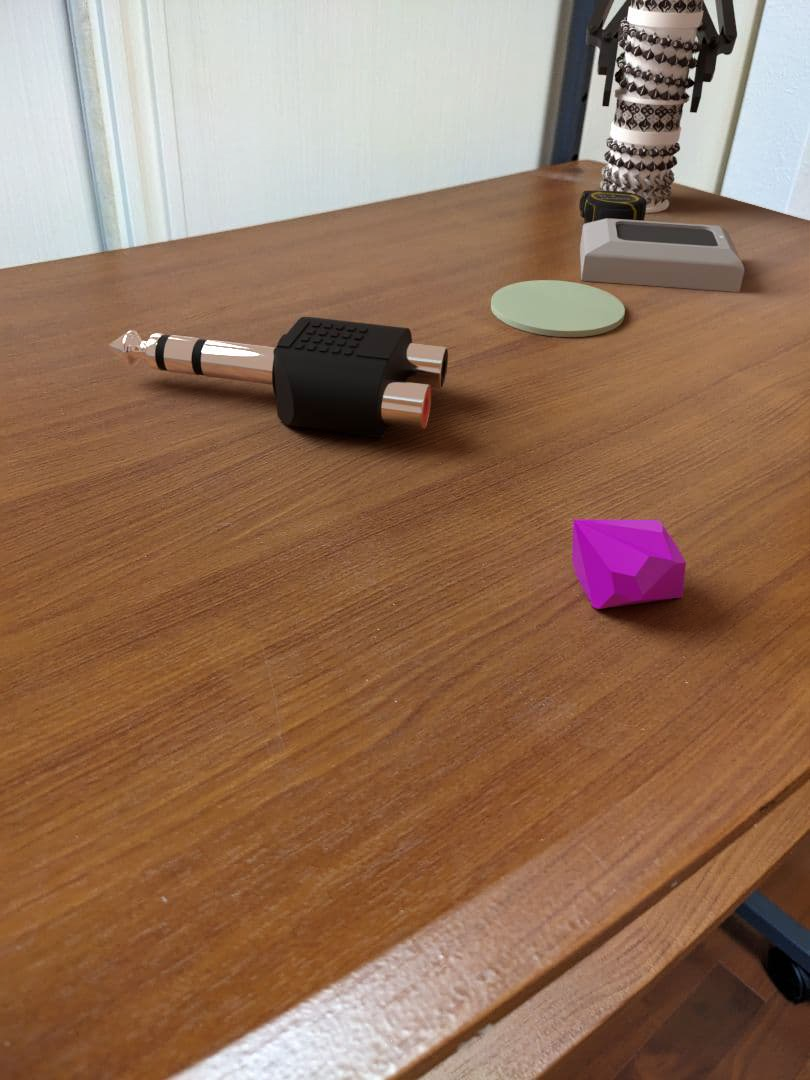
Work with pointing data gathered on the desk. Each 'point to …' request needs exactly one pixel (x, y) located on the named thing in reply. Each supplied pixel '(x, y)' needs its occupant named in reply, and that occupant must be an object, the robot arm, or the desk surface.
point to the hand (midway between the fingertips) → (650, 101)
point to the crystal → (626, 562)
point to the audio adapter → (315, 371)
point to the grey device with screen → (660, 255)
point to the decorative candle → (651, 97)
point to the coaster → (557, 308)
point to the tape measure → (611, 206)
